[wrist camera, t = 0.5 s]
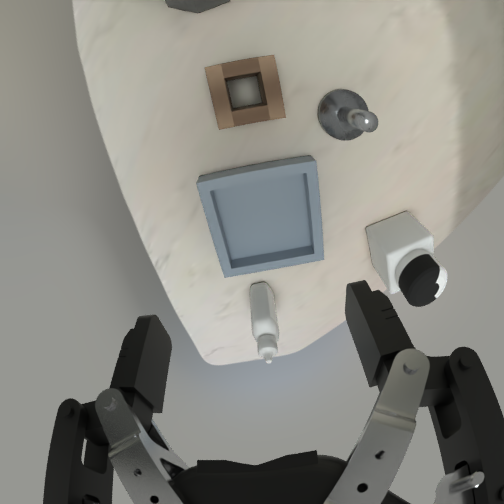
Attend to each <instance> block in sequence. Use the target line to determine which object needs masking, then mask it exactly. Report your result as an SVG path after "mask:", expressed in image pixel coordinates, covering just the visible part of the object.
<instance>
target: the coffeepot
mask: <svg viewBox="0 0 504 504" xmlns="http://www.w3.org/2000/svg"><path fill="white" fill-rule="evenodd" d="M229 1H230V0H165V2H166V4H167V6H168V7H171V8H176V9H180V10H184V11H191V12H195V13H200V12H202V11H205V10H208V9H211V8H214V7H216V6H219V5H221V4H223V3H226V2H229Z"/></svg>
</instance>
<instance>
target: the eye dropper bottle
mask: <svg viewBox="0 0 504 504" xmlns="http://www.w3.org/2000/svg"><path fill="white" fill-rule="evenodd" d="M250 305H251V322H252V333H253V336H254V338H255V340H256V342H257V345H258V354H259V356H261V357H263V358H265V360H266V363H271V362H272V357H274V356H275V355H276V354H277V353H278V349H277V342H278V339H279V327H278V320H277V314H276V307H275V301H274V295H273V292H272V290H271V288H270V287H269V285H268V284H267V283H265V282H262V283H257V284H253V285H252V286H251V288H250Z"/></svg>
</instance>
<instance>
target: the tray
mask: <svg viewBox="0 0 504 504" xmlns="http://www.w3.org/2000/svg"><path fill="white" fill-rule="evenodd" d="M196 184H197V188H198V191H199V195H200V198H201V202H202V205H203V208H204V212H205V215H206V219H207V222H208V225H209V229H210V232H211V235H212V239H213V242H214V245H215V249H216V252H217V255H218V258H219V262H220V265H221V268H222V271H223V274H224V277H225V278H226V277H232V276H238V275H243V274H249V273H255V272H260V271H266V270H272V269H277V268H283V267H288V266H293V265H299V264H304V263H309V262H315V261H320V260H324V250H323V232H322V218H321V205H320V193H319V183H318V173H317V164H316V160H315V159H314V158H313V157H312V156H311V155H310V156H303V157H296V158H289V159H283V160H277V161H271V162H265V163H260V164H254V165H249V166H244V167H239V168H234V169H229V170H224V171H220V172H215V173H211V174H206V175H202V176H199V178H198V181H197V183H196Z"/></svg>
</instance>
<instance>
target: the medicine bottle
mask: <svg viewBox="0 0 504 504" xmlns="http://www.w3.org/2000/svg"><path fill="white" fill-rule="evenodd" d="M366 232H367V237H368V242H369V247H370V253H371V258H372V264H373V266H374V268H375V269H376V271H377V273H378V274H379V276H380V277H381V279H382V281H383V282H384V284H385V286H386V287H387V289H388V290H389V292H390V293H391V294H394V293H396V292H398V291H402V293H403V295H404V296H405V298H406V299H407V301H408V302H409V304H410V305H412V306H416V307H421V306H425V305H427V304H429V303H431V302H433V301H434V300H435V299H436V298H437V297H438V296H439V295H440V294H441V293H442V291H443V290H444V288H445V286H446V283H447V272H446V270H445V268H444V267H443V266H442V265H441V264H440V263H439V261H438V260H437V259H436V258H435V257H434V256H433V251H434V240H433V234H432V233H431V232H430V231H428V230H427V229H426V228H425V227H424V226H423V225H422V224H421V223H420V222H419V221H418V220H417V219H416V218H415V217H414V216H413V215H411V214H410V213H409V212H408V211H405V212H403V213H400V214H398V215H395V216H393V217H390V218H388V219H385V220H383V221H380V222H378V223H375V224H373V225H370V226H368V227H367V228H366Z"/></svg>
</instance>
